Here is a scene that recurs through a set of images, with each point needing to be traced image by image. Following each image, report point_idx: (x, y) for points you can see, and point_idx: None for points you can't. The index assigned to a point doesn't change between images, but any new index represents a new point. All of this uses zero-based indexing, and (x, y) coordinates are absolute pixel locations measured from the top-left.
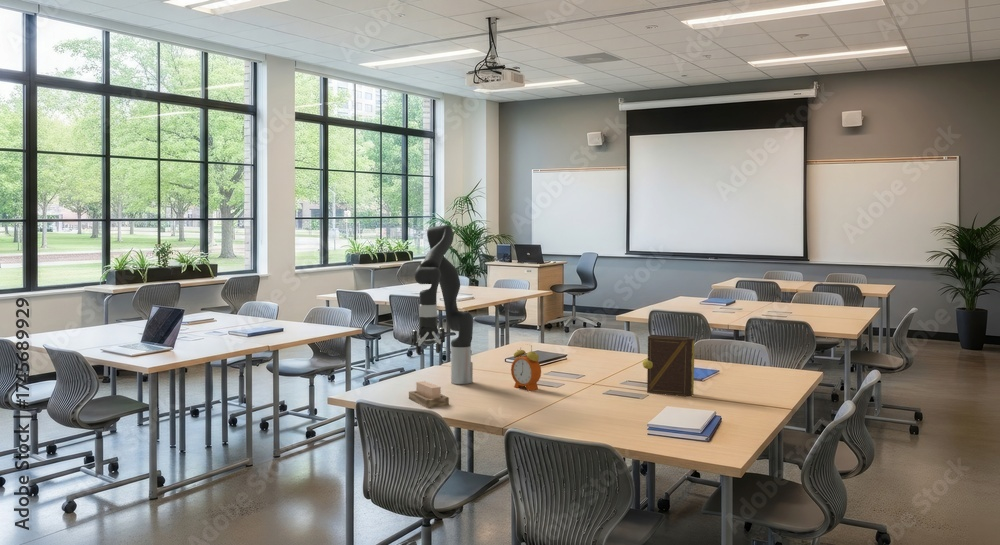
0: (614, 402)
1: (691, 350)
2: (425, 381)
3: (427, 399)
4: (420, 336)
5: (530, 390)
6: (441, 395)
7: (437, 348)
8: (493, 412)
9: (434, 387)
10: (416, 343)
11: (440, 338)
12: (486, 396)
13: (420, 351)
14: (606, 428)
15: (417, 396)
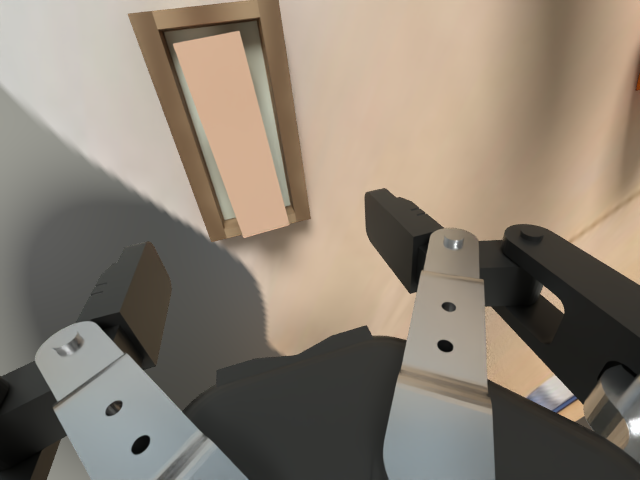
0: (629, 274)
1: None
2: (241, 48)
3: (218, 230)
4: (110, 466)
5: (637, 89)
6: (293, 176)
7: (386, 247)
8: (385, 310)
9: (259, 226)
10: (59, 441)
11: (532, 274)
12: (476, 121)
13: (159, 314)
14: None
15: (178, 150)
